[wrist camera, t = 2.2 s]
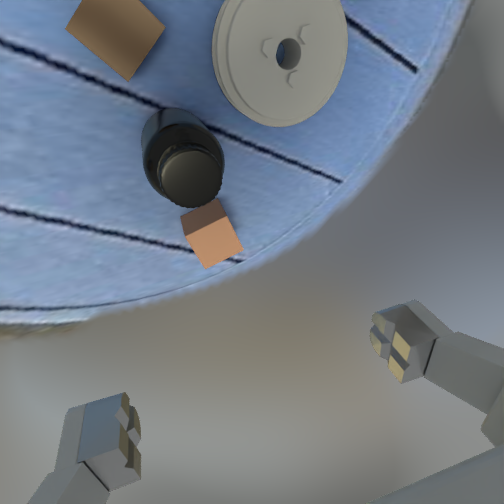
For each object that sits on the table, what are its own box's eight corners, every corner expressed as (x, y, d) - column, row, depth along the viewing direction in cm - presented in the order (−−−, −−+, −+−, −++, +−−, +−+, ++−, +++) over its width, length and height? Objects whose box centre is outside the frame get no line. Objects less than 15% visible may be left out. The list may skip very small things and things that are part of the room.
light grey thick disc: (271, 144, 37) (287, 156, 33) (182, 56, 30) (189, 58, 26) (351, 50, 34) (380, 51, 30) (273, -71, 27) (296, -91, 23)
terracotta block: (217, 197, 38) (226, 215, 34) (233, 229, 41) (243, 249, 37) (180, 216, 38) (185, 236, 34) (198, 247, 41) (205, 269, 37)
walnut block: (109, -23, 26) (103, -36, 22) (162, 30, 29) (165, 27, 25) (76, 31, 27) (64, 29, 23) (129, 77, 30) (128, 81, 26)
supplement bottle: (184, 185, 36) (201, 235, 27) (128, 149, 33) (124, 192, 23) (220, 134, 35) (252, 168, 25) (165, 90, 31) (176, 111, 21)
